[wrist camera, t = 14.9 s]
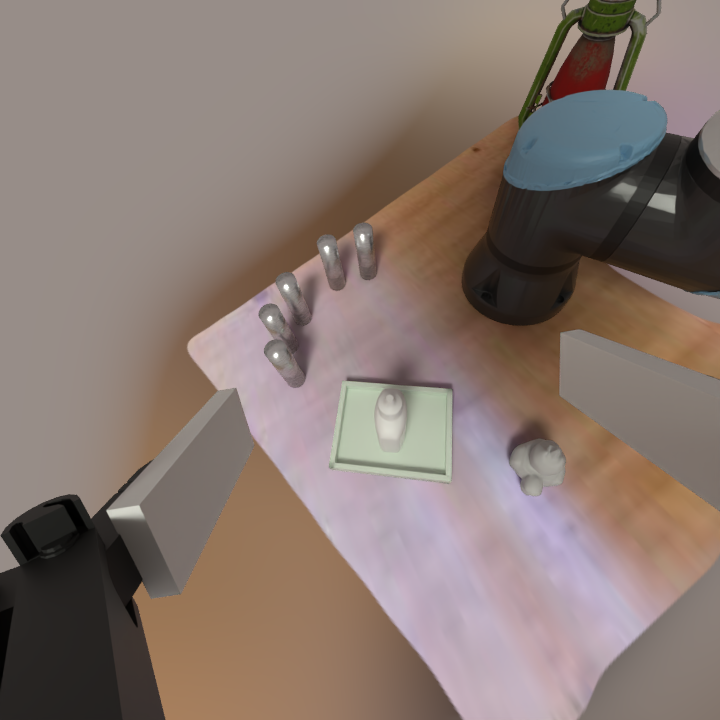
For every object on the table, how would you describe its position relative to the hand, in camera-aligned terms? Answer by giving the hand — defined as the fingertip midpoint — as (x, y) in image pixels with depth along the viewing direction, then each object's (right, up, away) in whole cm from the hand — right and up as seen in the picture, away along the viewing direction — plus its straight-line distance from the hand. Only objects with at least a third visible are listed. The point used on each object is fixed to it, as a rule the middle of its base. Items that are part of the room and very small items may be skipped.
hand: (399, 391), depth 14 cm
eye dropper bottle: (+2, -8, +29) cm, 30 cm away
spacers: (-6, +7, +37) cm, 39 cm away
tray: (+2, -8, +29) cm, 30 cm away
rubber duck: (+18, -12, +26) cm, 33 cm away
